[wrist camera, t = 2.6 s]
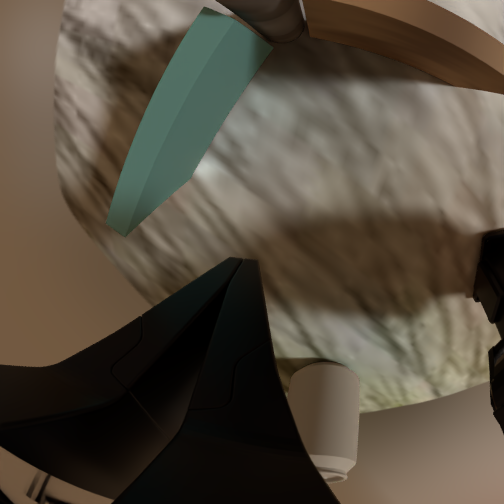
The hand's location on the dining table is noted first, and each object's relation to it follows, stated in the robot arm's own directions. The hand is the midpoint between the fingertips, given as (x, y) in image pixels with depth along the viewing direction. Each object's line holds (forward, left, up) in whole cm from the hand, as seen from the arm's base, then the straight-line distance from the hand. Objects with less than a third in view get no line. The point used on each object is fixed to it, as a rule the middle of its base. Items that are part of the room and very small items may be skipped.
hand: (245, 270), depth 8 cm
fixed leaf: (-7, -7, -10) cm, 14 cm away
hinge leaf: (+2, -6, -10) cm, 12 cm away
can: (+2, +22, -11) cm, 25 cm away
